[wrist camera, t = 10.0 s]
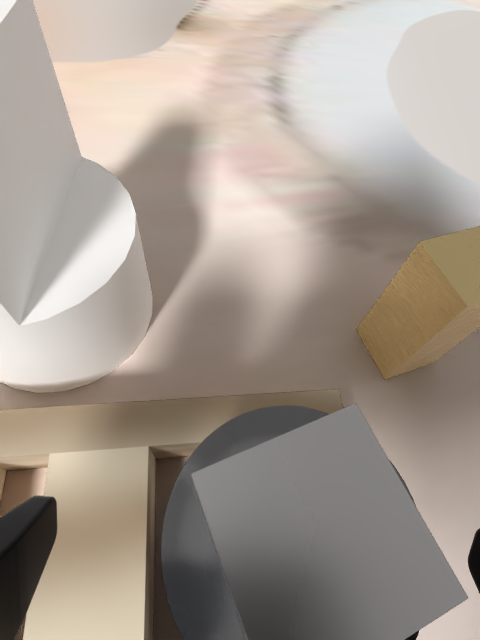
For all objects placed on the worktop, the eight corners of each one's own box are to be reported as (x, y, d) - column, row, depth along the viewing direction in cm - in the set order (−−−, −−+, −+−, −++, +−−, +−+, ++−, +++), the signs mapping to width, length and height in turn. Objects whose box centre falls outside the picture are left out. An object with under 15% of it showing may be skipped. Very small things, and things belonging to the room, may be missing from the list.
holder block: (379, 689, 13) (413, 717, 11) (-131, 769, 12) (-208, 821, 9) (322, 407, 18) (338, 389, 16) (-42, 431, 16) (-79, 414, 14)
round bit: (305, 571, 15) (572, 645, 4) (208, 624, 14) (231, 905, 3) (262, 470, 17) (372, 337, 6) (173, 510, 16) (108, 436, 5)
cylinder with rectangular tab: (3, 234, 22) (-177, -44, 11) (163, 248, 22) (130, -8, 12) (-66, 386, 17) (-465, 154, 7) (137, 399, 18) (47, 199, 7)
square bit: (433, 362, 20) (533, 285, 14) (384, 379, 19) (467, 306, 13) (403, 315, 21) (482, 225, 15) (356, 329, 21) (419, 241, 15)
